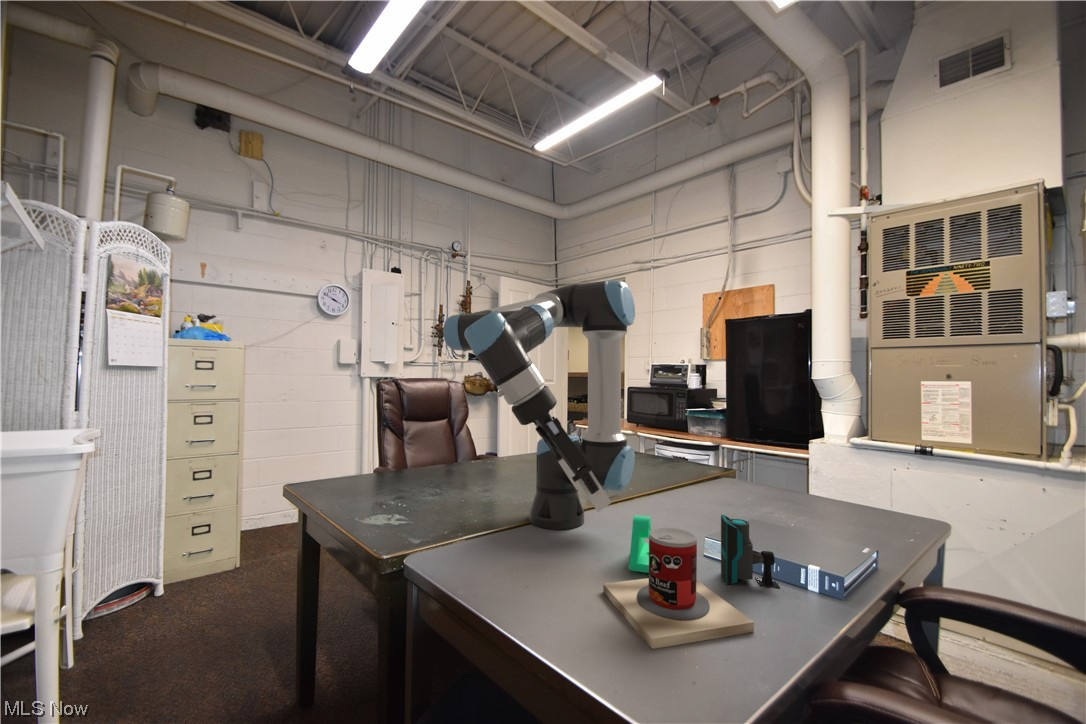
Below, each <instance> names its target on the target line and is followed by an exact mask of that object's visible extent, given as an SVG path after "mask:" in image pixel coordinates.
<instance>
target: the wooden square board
mask: <svg viewBox="0 0 1086 724" xmlns="http://www.w3.org/2000/svg"><path fill="white" fill-rule="evenodd" d="M603 591H604V592H603ZM602 592H603V593H604V595H605V594H606V595H607V596H608V597H609V598H608V597H607V596H606V595H605V596H606V597H607V598H608V599H609V601H610V602H611V601H612V602H613V603H614V604H613V603H612V602H611V603H612V604H613V605H614V607H616V608H618V609H617V610H618V611H619V612H620V614H622V615H624V616H623V617H624V618H625V619H626V621H628V622H629V624H630V625H631V626H632V628H633V629H634V630H635V631H636V632H637V633H638V634H639V635H640V637H641V638H642V639H643V640H644V641H645V643H646V644H647V645H648V646H649V647H650V648H651V649H652V650H654V649H659V648H661V649H662V648H666V647H673V646H679V645H683V644H691V643H696V642H701V641H706V640H707V641H708V640H713V639H714V640H715V639H718V638H719V639H720V638H725V637H730V636H737V635H742V634H743V635H744V634H748V633H755V622H754V621H753V620H752V619H750V618H749V617H747V616H746V615H745V614H743V613H742V612H741V611H739V610H738V609H737V608H735V607H734V606H733V605H731V604H730V603H729V602H727V601H726V600H725V599H724V598H722V597H720V596H719V595H718V594H716V593H715V592H714V591H712V590H711V589H709V588H708V587H707V586H705V585H704V584H703V583H701V582H700V581H699V580H697V579H696V601H695V604H694V605H693V606H692V607H691V608H688V609H685V610H672V609H667V608H663V607H661V606H659V605H657V604H655V603H654V602H653V601H652V600H651V598H650V595H649V577H648V578H640V579H639V578H638V579H631V580H624V581H615V582H607V583H603V585H602Z"/></svg>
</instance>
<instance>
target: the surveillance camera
mask: <svg viewBox="0 0 1086 724" xmlns="http://www.w3.org/2000/svg"><path fill="white" fill-rule="evenodd" d="M756 564H757V565H758V564H762V565H763V574H762V577H761V578H762V581H760V580H756V582H757V581H759V582H757V584H758V583H759V584H758V585H760V586H759V587H761V586H767V587H766V588H771V587H776V588H775V589H781V586H780V585H779V583H778V582H777V581H776V580H775V581H776V582H777V583H776V582H775V581H774V582H773V581H772V579H773V577H772V566H774V565H775V554H774V552H772V551H770V550H762V551H760V552H759V551H756V550H754V547H753V543H752V540H751V538H750V522H749V521H747V520H744V519H742V518H741V519H739V518H729V517H728V516H727V515H725V514H720V575H721V574H722V575H721V578H722V577H723V578H722V579H724V580H723V583H724V582H725V583H726V584H725V583H724V584H725V585H732V584H736V583H738V580H744V581H745V580H748V581H749V580H750V581H751V580H753V579H754V578H756V577H757V576H755V577H754V575H753V573H754V570H753V569H754V566H753V565H756ZM753 577H754V578H753ZM757 579H758V578H757ZM777 587H778V588H777Z"/></svg>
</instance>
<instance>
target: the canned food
mask: <svg viewBox="0 0 1086 724" xmlns="http://www.w3.org/2000/svg"><path fill="white" fill-rule="evenodd" d="M648 543H649V573H648V578H649V595H650V598H651V600H652V601H653V602H654V603H655V604H657V605H659V606H661V607H663V608H667V609H672V610H685V609H688V608H691V607H692V606H693V605H694V604H695V601H696V580H697V577H698V575H697V569H698V568H697V567H698V566H697V564H698V563H697V558H698V557H697V556H698V543H697V536H696V535H695V534H694V533H692V532H689V531H687V530H684V529H679V528H672V527H663V528H656V529H653V530H651V531H650V535H649V539H648Z"/></svg>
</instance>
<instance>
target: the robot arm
mask: <svg viewBox="0 0 1086 724" xmlns="http://www.w3.org/2000/svg"><path fill="white" fill-rule="evenodd" d="M635 317H636V307H635V301H634V297H633V294H632V291H631V289H630V287H629V286H628V285H627V283H626V282H624V281H622V280H604V281H595V282H587V283H586V282H585V283H574V284H573V283H572V284H568V285H564V286H561V287H557V288H555V289H551V290H549V291H544V292H541V293H538V294H537V295H535V296H534V298H532V299H529V300H528V299H527V300H524V301H518V302H514V303H510V304H505V305H501V306H498V307H497V306H496V307H492V308H489V309H484V310H480V311H475V312H470V313H459V314H454V315H450V316H449V317H447V319H446V320H445V321H444V325H443V329H442V333H443V340H444V343H446V345H447V346H448V347H449V348H450V349H452V350H453V351H462V352H467V351H468V352H469V351H472V354H473V355H474V356H475V357H476V358H477V360H478V361H479V363H480V364H481V366H482V367H483V368H484V370H485V371H486V373H487V374H488V376H489V378H490V379H491V380H492V381H493V384H494V385H495V387H496V388H497V390H499V391H498V392H497V393H496V395H497V397H498V398H501V397H503V399H504V400H505V402H506V403H507V405H508V406H509V405H510V406H511V412H512V414H513V415H514V417H515V418H516V419H517V421H518V422H519V424H520V425H522V426H527V425H530V424H532V423H533V424H534V425H535V432H537V434H538V435H539V436H540V438H541V439H539V440H538V441H537V445H536V454H535V456H536V457H535V458H536V460H535V462H536V463H535V464H536V466H535V467H536V469H535V471H536V472H535V475H536V476H535V479H536V480H535V481H536V482H535V483H536V484H535V485H536V487H535V488H536V489H535V494H534V496H533V497H534V498H533V499H532V503H531V506H530V509H529V515H528V520H529V523H530V524H531V525H534V526H535V527H538V528H543V529H548V530H549V529H550V530H567V529H574V528H578V527H581V526H582V525H583V524H584V523H585V512H584V508H583V504H582V501H581V497H580V495H579V489H582V490H583V492H584V494H585V495H586V496H587V498H588V500H589V501H590V503H591V504H592V506H593V507H594V509H595V510H596V512H597V513H600V512H601V511H602V510H604V509H605V508H607V506H609V505H610V504H612V501H611V499H610V497H609V496H608V495H607V493H606V491H607V492H608V491H611V492H612V491H614V492H620V491H623V490H625V489H626V488H627V486H628V485H629V483H630V481H631V479H632V475H633V472H634V468H635V459H636V456H635V455H636V454H635V449H634V448H633V447H632V446H630V445H627V444H628V441H627V439H628V438H627V436H625V434H624V433H623V432H622V424H621V423H622V339H623V338H624V337H625V336H626V335H627V334H628V327H630V326H632V325H633V324H634V323H635ZM554 328H581V329H582V330H581V331H582V334H583V336H585V338H586V339H587V431H586V432H585V433H584V434H582V437H581V441H580V437H579V435H578V434H568V433H567V432H566V430H565V429H564V428H563V425H562V423H561V421H560V420H559V418H558V417H554V416H552V415H551V414H550V412H551V410H553V409H554V408H555V407H556V405H557V402H558V401H557V399H556V397H555V395H554V394H553V392H552V391H551V390H550V388H549V386H547V385H544V384H545V379H544V378H543V376H542V375H541V373H540V371H539V370H538V368H537V367H536V365H535V364H534V362H532V360H531V359H530V356H529V355H528V354H529V353H530V352H531V351H532V350H535V349H536V348H537V347H538V346H540V345H542V344H544V342H545V341H546V340H547V339H548V338H549V337H550V336H551V334H552V332H553V330H554Z"/></svg>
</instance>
